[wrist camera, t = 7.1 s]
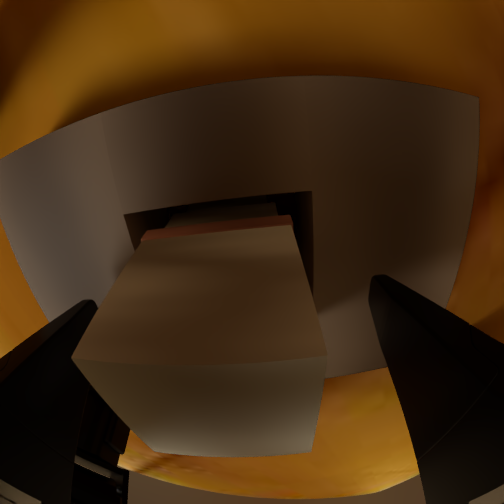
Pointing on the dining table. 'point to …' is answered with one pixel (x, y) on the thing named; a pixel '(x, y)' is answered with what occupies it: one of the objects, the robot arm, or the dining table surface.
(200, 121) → the grey block with hole
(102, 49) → the dining table surface
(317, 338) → the wooden post
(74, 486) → the robot arm
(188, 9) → the dining table surface
